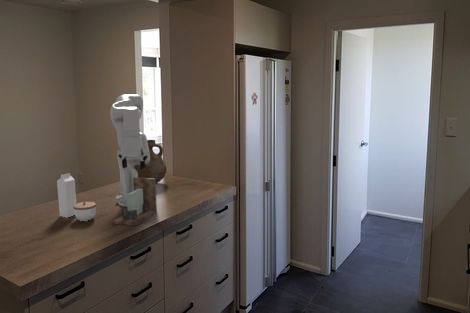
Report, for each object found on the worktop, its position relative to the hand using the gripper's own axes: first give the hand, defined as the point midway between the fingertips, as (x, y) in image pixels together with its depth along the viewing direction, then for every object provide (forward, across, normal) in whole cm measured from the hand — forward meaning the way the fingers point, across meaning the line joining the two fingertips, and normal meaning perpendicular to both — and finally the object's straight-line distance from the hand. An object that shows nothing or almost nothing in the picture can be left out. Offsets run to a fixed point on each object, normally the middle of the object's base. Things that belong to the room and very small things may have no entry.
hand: (133, 168), depth 200 cm
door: (+24, 0, 0) cm, 24 cm away
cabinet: (+25, 0, 0) cm, 25 cm away
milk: (+26, -35, -6) cm, 44 cm away
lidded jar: (+26, -23, -9) cm, 35 cm away
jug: (+26, -25, +66) cm, 75 cm away
